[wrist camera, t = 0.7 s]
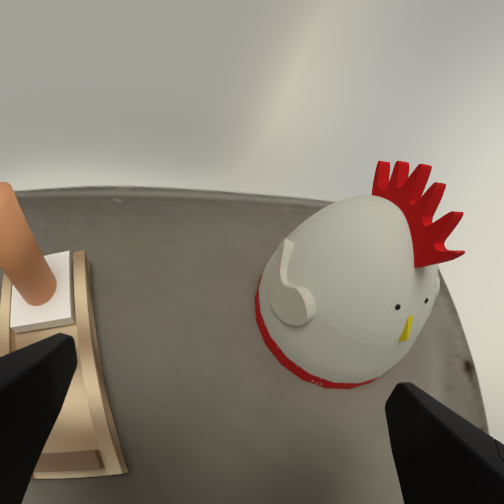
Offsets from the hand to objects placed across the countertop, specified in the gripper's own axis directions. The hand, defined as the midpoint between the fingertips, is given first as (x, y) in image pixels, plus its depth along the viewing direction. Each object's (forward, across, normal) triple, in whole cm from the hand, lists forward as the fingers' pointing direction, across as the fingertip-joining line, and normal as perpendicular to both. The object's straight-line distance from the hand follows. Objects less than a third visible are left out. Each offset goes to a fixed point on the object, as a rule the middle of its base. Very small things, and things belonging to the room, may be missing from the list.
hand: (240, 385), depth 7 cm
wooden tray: (+9, +12, +11) cm, 18 cm away
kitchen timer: (+17, -9, +6) cm, 20 cm away
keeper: (+12, +15, +7) cm, 20 cm away
